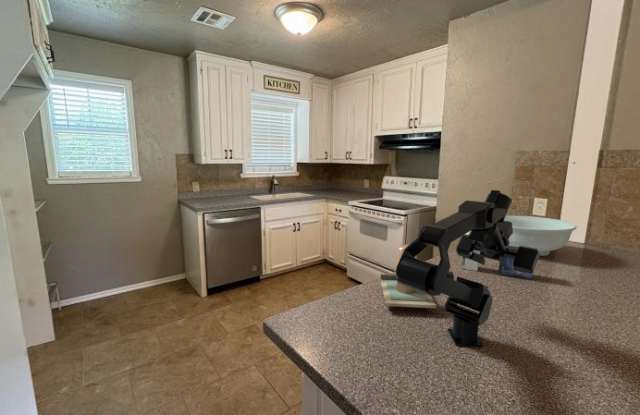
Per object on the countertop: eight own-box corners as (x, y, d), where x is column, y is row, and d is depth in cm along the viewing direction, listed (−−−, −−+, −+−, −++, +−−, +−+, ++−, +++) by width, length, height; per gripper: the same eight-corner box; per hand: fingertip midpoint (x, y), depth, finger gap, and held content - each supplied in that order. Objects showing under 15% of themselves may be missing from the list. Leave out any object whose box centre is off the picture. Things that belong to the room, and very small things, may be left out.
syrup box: (463, 264, 124) (465, 231, 122) (478, 267, 121) (481, 232, 119) (461, 268, 120) (464, 234, 117) (478, 271, 117) (481, 235, 114)
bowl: (474, 245, 152) (477, 217, 149) (522, 239, 161) (525, 213, 159) (536, 266, 122) (540, 232, 119) (590, 258, 131) (595, 226, 129)
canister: (414, 287, 96) (416, 245, 94) (415, 294, 91) (417, 250, 88) (396, 285, 97) (398, 243, 95) (396, 292, 92) (397, 249, 90)
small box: (499, 275, 113) (501, 249, 111) (498, 269, 118) (500, 244, 117) (533, 280, 108) (536, 253, 106) (530, 274, 114) (533, 248, 112)
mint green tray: (435, 314, 85) (436, 300, 84) (386, 312, 86) (386, 298, 86) (421, 287, 103) (422, 275, 102) (380, 286, 104) (380, 274, 103)
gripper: (541, 217, 70) (550, 252, 79) (463, 207, 85) (477, 238, 93) (526, 255, 67) (537, 288, 76) (447, 239, 81) (464, 267, 90)
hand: (501, 267), depth 84 cm, fingers open, 9 cm apart
